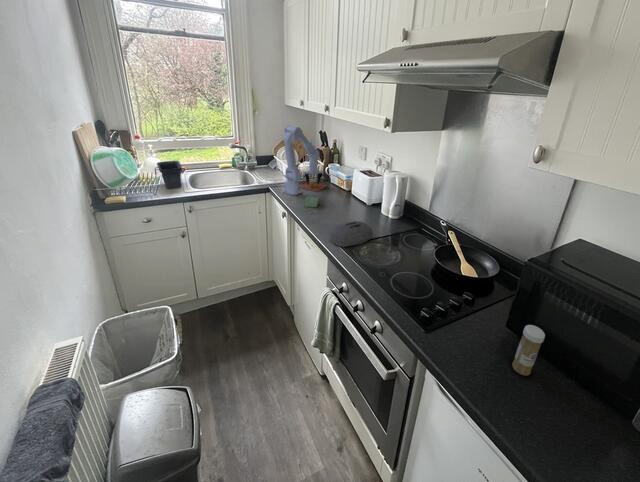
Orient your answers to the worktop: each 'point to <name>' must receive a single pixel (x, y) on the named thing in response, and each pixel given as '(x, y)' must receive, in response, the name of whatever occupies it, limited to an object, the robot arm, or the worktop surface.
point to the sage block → (311, 201)
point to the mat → (318, 188)
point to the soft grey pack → (351, 233)
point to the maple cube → (313, 183)
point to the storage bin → (170, 173)
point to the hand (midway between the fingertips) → (313, 184)
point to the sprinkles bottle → (528, 349)
